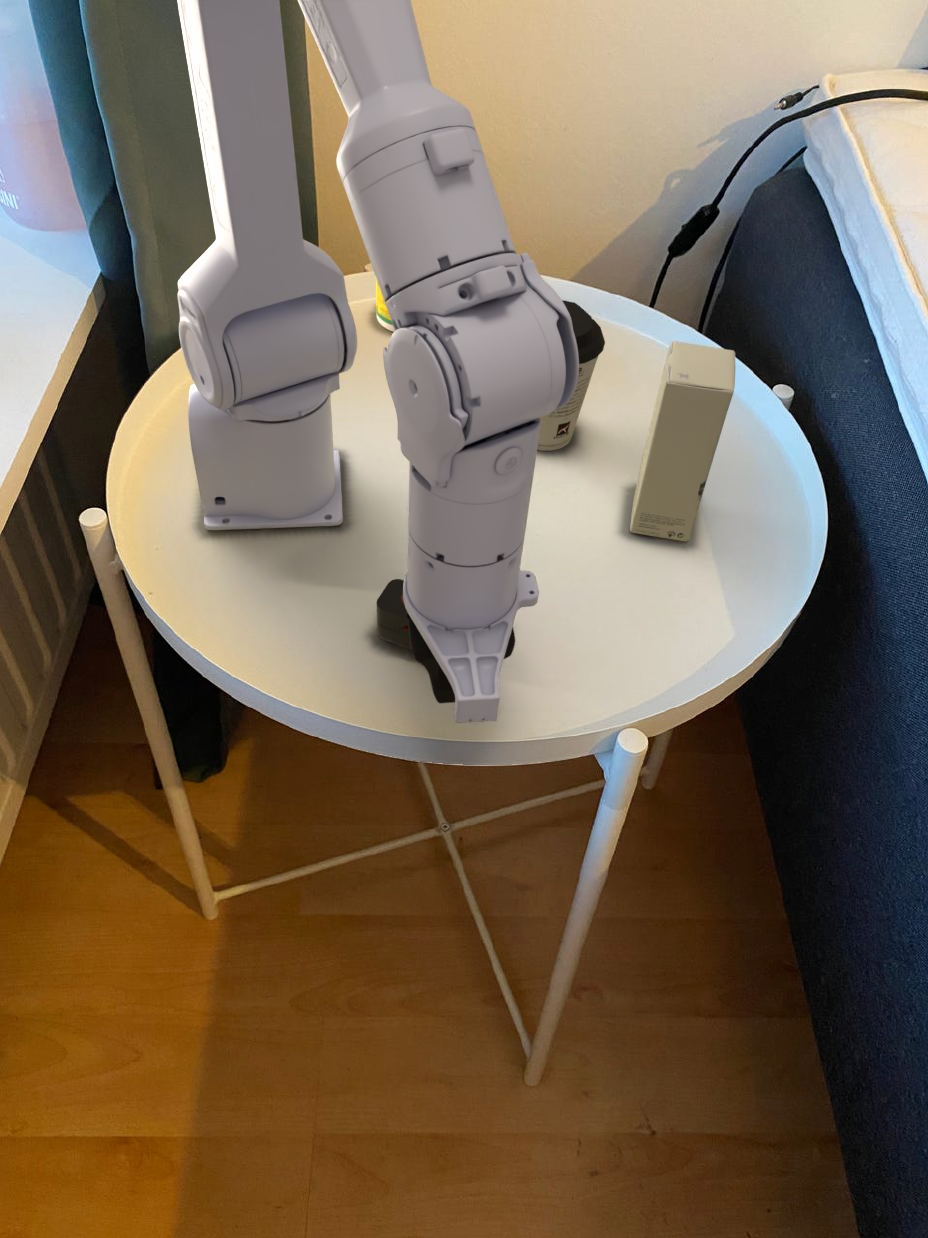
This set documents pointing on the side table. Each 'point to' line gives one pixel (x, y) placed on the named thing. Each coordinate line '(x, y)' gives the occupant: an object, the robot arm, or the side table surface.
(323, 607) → the side table surface
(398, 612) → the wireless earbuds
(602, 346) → the coffee cup
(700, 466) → the box
